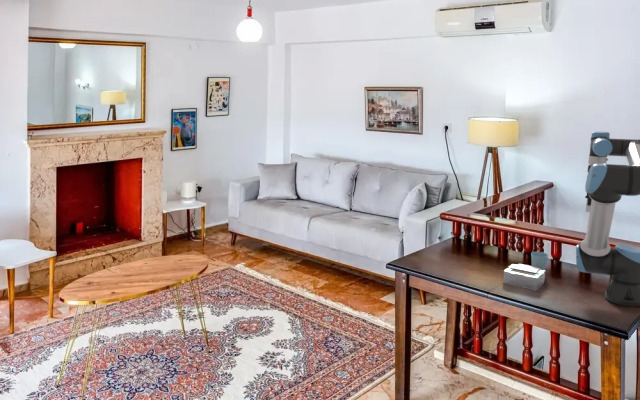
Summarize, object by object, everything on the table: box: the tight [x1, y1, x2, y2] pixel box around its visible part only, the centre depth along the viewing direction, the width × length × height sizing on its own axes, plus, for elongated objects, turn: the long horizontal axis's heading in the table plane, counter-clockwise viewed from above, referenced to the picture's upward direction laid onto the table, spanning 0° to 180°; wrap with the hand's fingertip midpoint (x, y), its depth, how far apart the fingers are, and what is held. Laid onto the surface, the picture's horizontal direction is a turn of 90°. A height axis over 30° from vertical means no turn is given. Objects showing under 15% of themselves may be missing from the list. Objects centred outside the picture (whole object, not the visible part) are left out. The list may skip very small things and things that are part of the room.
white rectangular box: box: [502, 263, 546, 291], centre depth 256 cm, size 12×15×6 cm
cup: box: [530, 251, 549, 271], centre depth 266 cm, size 8×8×10 cm
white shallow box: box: [506, 263, 541, 276], centre depth 258 cm, size 11×14×6 cm
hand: (592, 209), depth 263 cm, fingers open, 13 cm apart
